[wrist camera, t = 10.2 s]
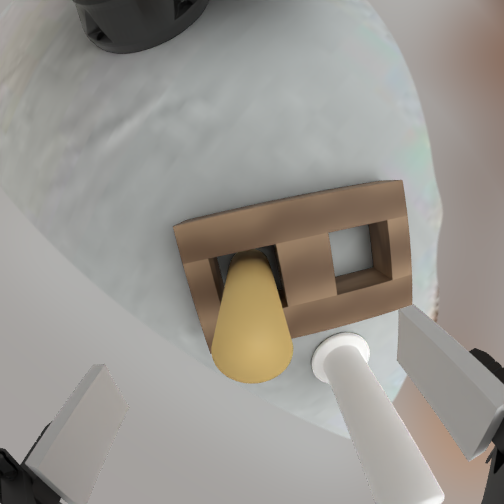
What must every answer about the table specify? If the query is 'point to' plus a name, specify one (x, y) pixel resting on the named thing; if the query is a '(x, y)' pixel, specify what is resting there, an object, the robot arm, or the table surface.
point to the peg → (251, 323)
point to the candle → (374, 425)
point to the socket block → (307, 255)
